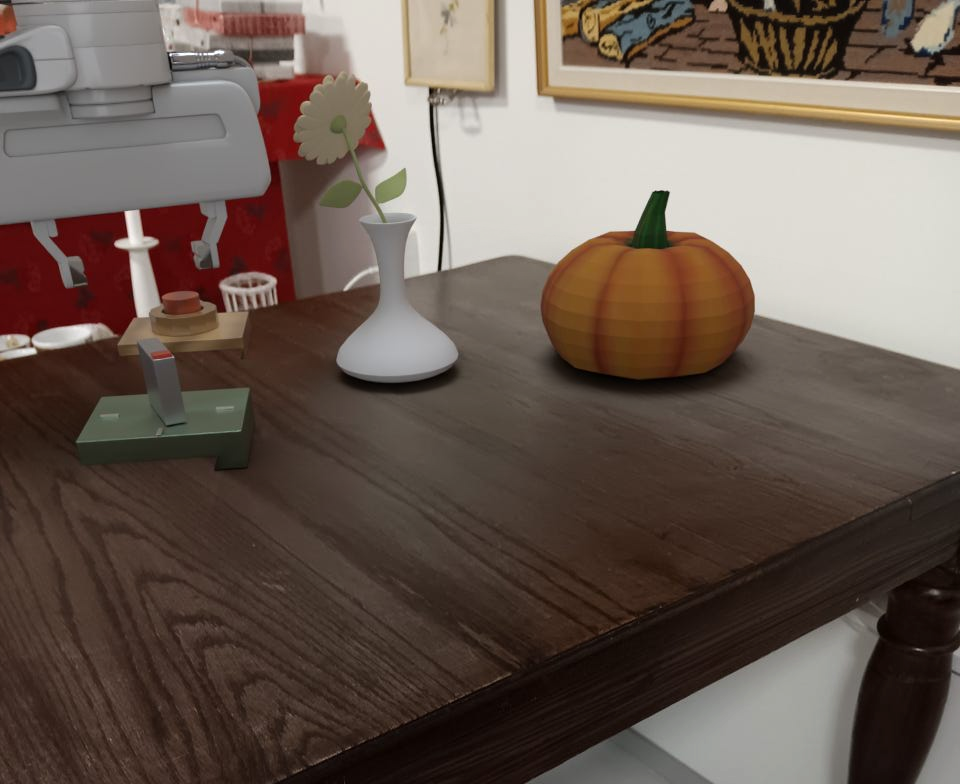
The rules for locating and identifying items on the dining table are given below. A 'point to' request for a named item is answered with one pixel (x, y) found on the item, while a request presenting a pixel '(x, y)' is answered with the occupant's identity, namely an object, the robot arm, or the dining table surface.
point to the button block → (190, 331)
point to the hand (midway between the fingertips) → (143, 276)
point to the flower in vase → (394, 324)
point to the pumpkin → (647, 301)
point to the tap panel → (170, 430)
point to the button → (181, 303)
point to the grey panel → (162, 380)
